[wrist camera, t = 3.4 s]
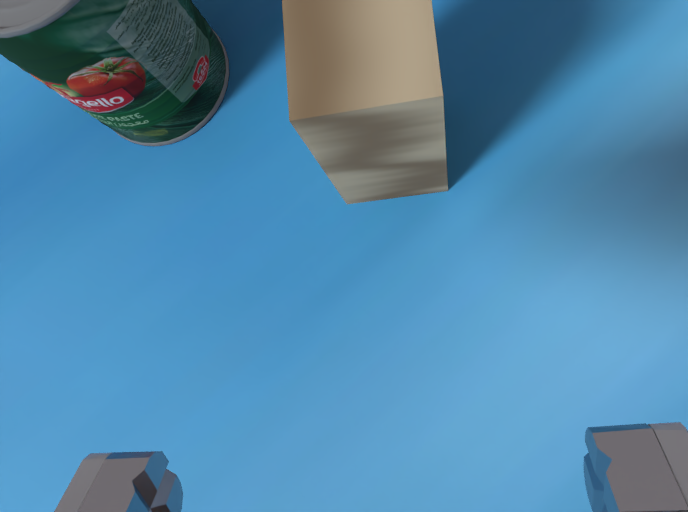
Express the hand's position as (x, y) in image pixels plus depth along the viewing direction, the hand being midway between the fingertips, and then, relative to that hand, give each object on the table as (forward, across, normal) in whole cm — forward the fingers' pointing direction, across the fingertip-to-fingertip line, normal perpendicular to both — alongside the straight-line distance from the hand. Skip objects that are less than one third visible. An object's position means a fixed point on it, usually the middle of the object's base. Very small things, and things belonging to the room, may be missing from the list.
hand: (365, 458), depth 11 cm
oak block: (+20, 0, +2) cm, 20 cm away
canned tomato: (+24, +12, -2) cm, 27 cm away
